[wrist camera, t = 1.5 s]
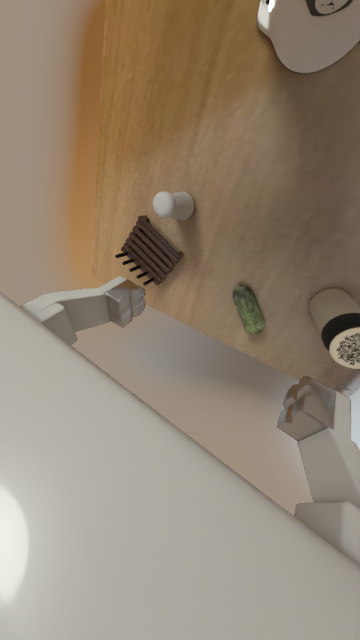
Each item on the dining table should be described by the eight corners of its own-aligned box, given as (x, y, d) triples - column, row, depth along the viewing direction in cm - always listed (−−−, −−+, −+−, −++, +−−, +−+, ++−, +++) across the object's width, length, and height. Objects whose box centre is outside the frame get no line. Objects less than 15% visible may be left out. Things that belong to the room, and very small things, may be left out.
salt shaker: (174, 221, 49) (149, 223, 38) (172, 193, 47) (144, 188, 36) (197, 219, 47) (177, 221, 36) (196, 190, 45) (174, 183, 34)
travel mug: (301, 313, 48) (317, 357, 33) (321, 282, 44) (349, 318, 29) (336, 325, 46) (369, 378, 32) (360, 295, 42) (411, 340, 27)
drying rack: (145, 215, 51) (129, 215, 45) (184, 254, 52) (173, 260, 46) (126, 248, 57) (110, 252, 51) (161, 282, 58) (149, 290, 52)
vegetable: (267, 326, 52) (267, 335, 48) (248, 330, 55) (246, 340, 51) (250, 277, 49) (248, 283, 45) (229, 284, 51) (226, 291, 47)
